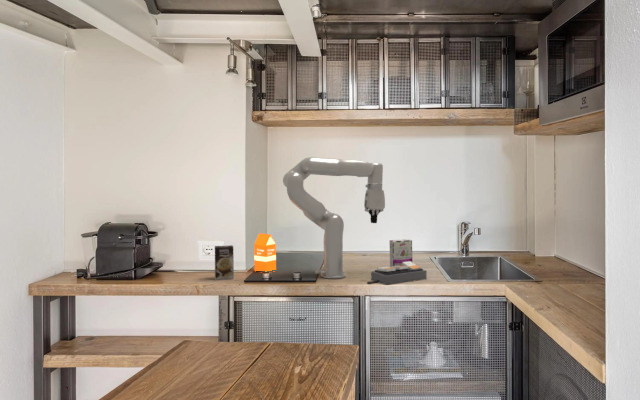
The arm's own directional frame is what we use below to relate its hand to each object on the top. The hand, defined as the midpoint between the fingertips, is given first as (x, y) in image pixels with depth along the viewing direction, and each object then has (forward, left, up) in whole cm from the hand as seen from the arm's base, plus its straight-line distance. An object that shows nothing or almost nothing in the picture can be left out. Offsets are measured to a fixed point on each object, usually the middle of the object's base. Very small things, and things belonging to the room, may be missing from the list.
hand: (373, 222), depth 228 cm
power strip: (-1, -17, -26) cm, 31 cm away
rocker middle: (+3, -17, -21) cm, 27 cm away
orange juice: (-46, +35, -26) cm, 64 cm away
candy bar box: (+16, -2, -26) cm, 31 cm away
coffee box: (-70, +29, -26) cm, 80 cm away
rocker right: (+10, -17, -21) cm, 29 cm away
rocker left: (-5, -17, -21) cm, 28 cm away
